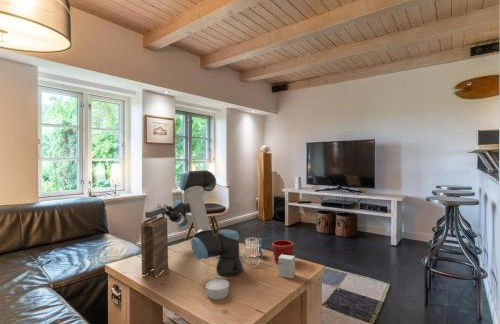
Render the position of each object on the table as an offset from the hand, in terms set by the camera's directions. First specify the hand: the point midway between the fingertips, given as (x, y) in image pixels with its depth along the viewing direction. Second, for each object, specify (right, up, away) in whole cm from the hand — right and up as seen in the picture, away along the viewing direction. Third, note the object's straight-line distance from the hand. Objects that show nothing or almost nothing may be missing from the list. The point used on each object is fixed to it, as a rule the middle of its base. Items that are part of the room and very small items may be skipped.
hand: (160, 205), depth 160 cm
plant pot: (+74, -36, +5) cm, 83 cm away
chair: (+58, -36, +16) cm, 70 cm away
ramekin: (+38, -37, -34) cm, 63 cm away
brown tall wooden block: (-1, -37, -7) cm, 38 cm away
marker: (-1, -4, -4) cm, 6 cm away
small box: (+74, -36, -14) cm, 84 cm away
